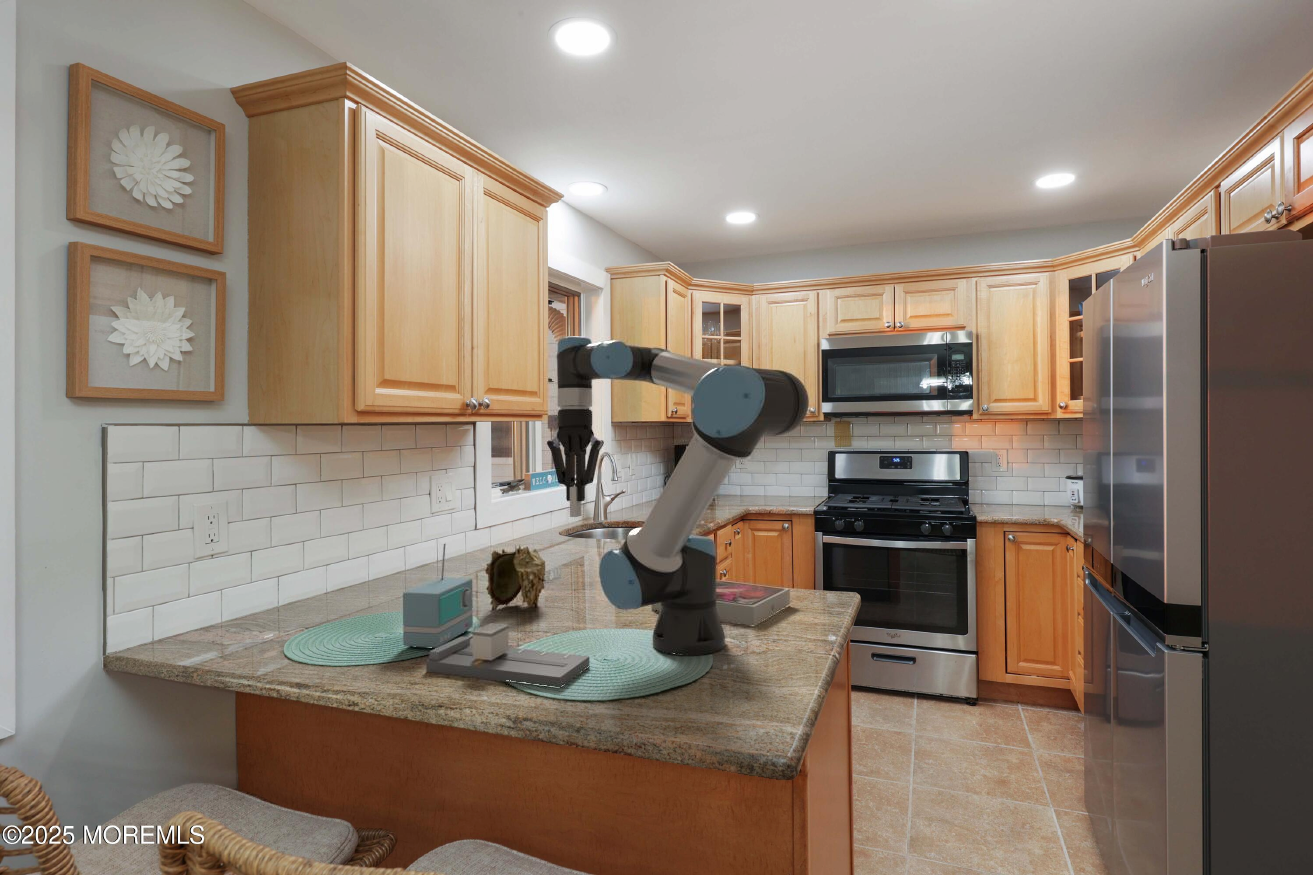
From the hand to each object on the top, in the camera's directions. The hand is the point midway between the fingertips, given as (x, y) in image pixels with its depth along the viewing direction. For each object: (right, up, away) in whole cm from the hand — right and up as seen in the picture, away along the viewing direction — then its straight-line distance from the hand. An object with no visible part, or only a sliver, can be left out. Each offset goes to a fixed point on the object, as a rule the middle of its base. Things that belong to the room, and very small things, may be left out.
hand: (575, 516), depth 151 cm
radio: (-29, -27, -1) cm, 40 cm away
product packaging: (+34, -27, +24) cm, 50 cm away
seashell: (-18, -27, +24) cm, 40 cm away
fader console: (-10, -27, -21) cm, 35 cm away
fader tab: (-14, -24, -19) cm, 34 cm away
